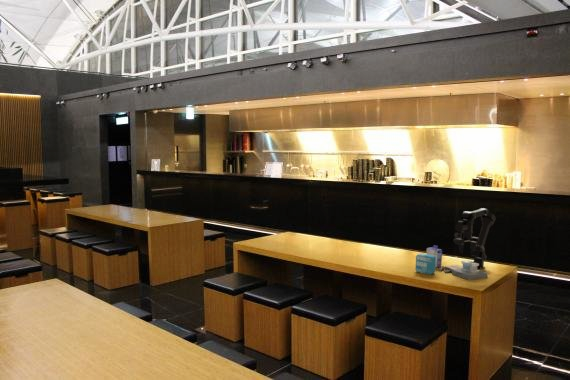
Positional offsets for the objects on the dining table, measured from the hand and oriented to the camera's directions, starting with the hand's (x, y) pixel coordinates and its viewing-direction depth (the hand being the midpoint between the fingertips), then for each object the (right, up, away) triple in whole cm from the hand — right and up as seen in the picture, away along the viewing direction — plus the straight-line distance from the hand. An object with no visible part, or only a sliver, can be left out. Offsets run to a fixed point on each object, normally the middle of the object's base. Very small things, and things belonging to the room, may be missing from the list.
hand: (466, 252), depth 327 cm
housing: (-2, -11, -11) cm, 16 cm away
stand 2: (-2, -14, -11) cm, 18 cm away
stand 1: (-6, -12, +2) cm, 14 cm away
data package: (-29, -13, -4) cm, 32 cm away
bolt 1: (-17, -12, +1) cm, 21 cm away
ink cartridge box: (-18, -11, +14) cm, 25 cm away
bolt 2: (-14, -13, -4) cm, 19 cm away
